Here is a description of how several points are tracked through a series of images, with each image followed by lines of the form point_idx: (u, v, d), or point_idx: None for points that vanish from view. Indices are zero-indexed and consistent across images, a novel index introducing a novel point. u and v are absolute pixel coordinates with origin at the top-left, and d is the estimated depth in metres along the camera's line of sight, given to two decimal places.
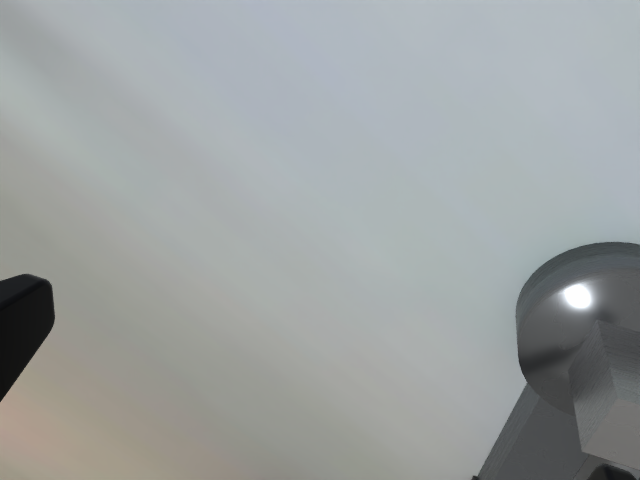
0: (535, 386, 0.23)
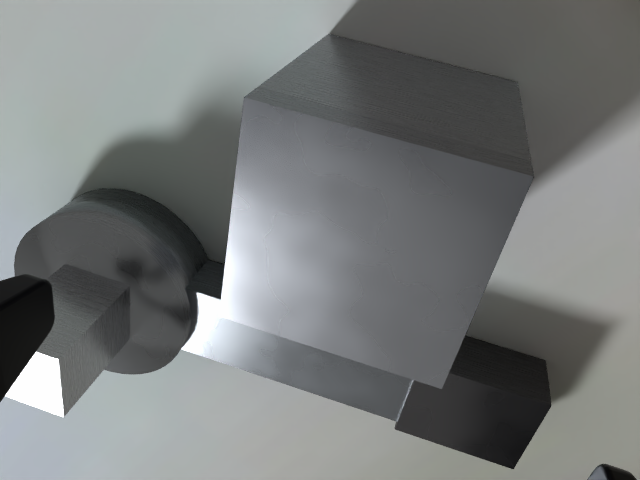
0: (160, 363, 0.22)
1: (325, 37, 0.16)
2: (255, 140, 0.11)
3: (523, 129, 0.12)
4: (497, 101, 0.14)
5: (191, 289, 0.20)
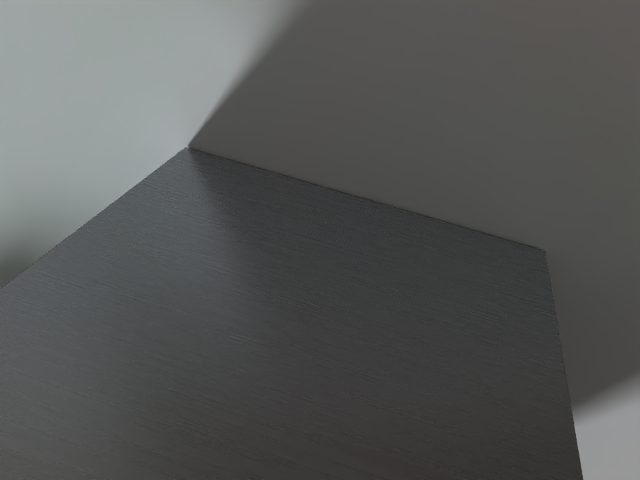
0: None
1: (172, 159, 0.08)
2: None
3: None
4: (507, 351, 0.06)
5: None
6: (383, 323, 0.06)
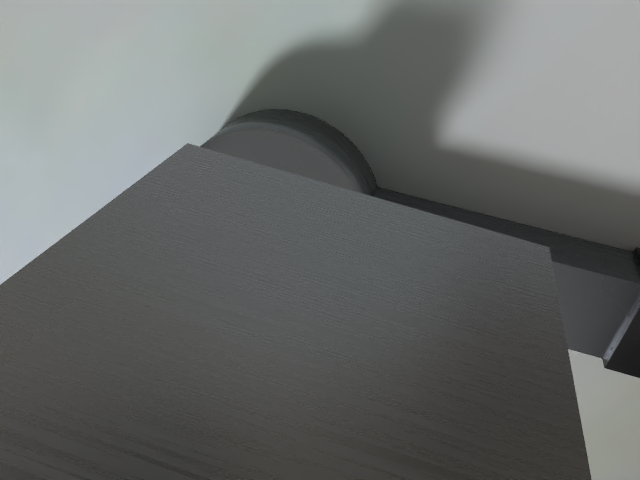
0: None
1: (175, 155, 0.08)
2: None
3: None
4: (513, 346, 0.06)
5: None
6: (388, 318, 0.06)
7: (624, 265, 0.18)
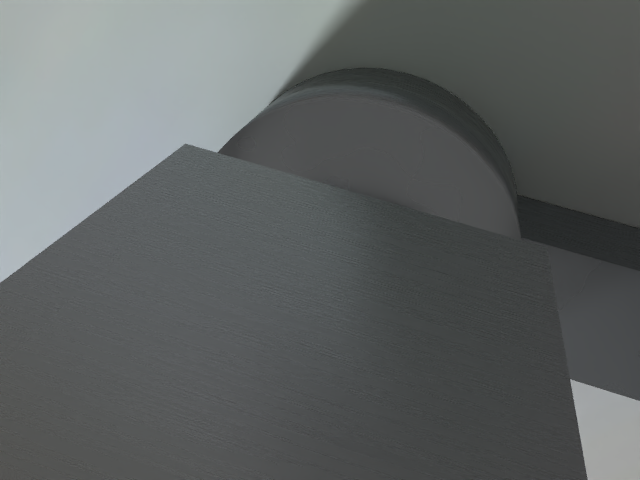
0: None
1: (173, 156, 0.08)
2: None
3: None
4: (510, 347, 0.06)
5: (530, 239, 0.11)
6: (385, 319, 0.06)
7: None
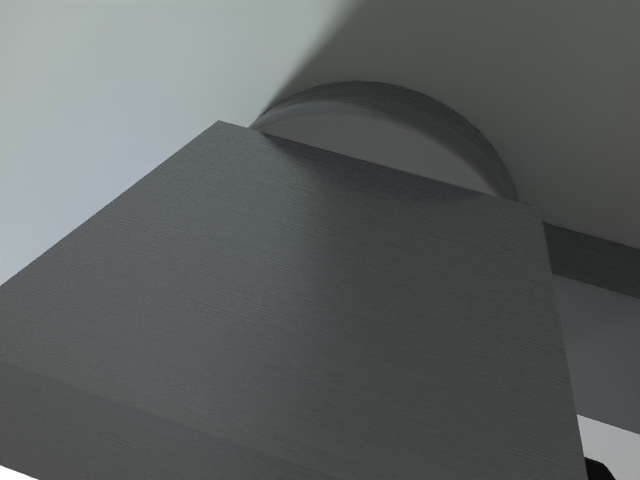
0: None
1: (208, 130, 0.09)
2: None
3: (566, 390, 0.06)
4: (507, 282, 0.07)
5: None
6: (400, 259, 0.07)
7: None
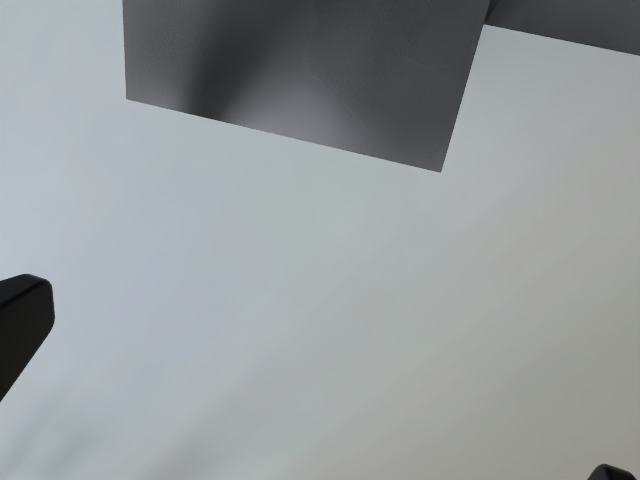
0: None
1: None
2: None
3: None
4: None
5: None
6: None
7: None
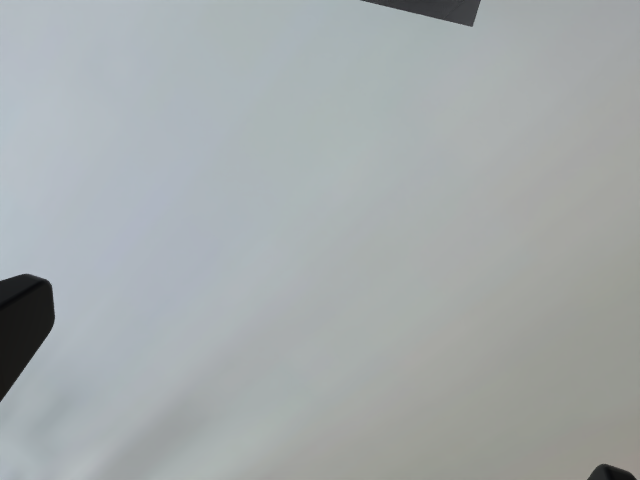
0: None
1: None
2: None
3: None
4: None
5: None
6: None
7: None
